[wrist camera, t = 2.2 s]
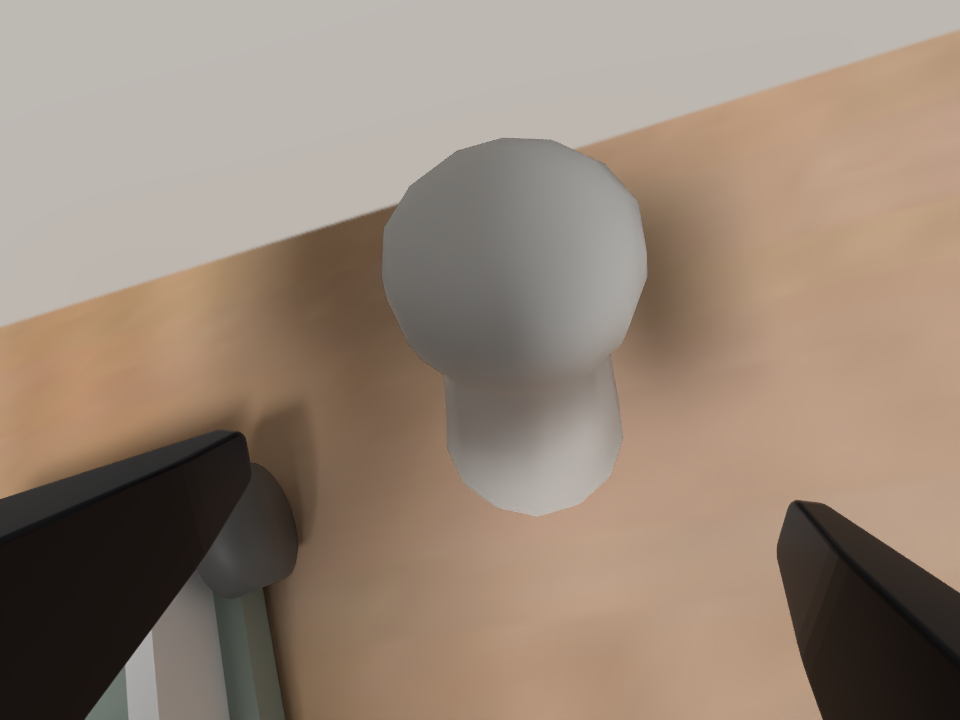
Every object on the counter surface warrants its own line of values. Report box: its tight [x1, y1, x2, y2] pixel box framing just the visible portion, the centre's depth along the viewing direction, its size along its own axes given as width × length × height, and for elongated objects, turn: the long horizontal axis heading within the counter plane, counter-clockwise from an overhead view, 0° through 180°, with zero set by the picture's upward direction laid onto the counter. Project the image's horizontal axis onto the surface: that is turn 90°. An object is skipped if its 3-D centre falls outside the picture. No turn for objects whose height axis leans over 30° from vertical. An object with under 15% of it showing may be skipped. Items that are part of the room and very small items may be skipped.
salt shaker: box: [381, 138, 647, 517], centre depth 13 cm, size 6×6×13 cm
